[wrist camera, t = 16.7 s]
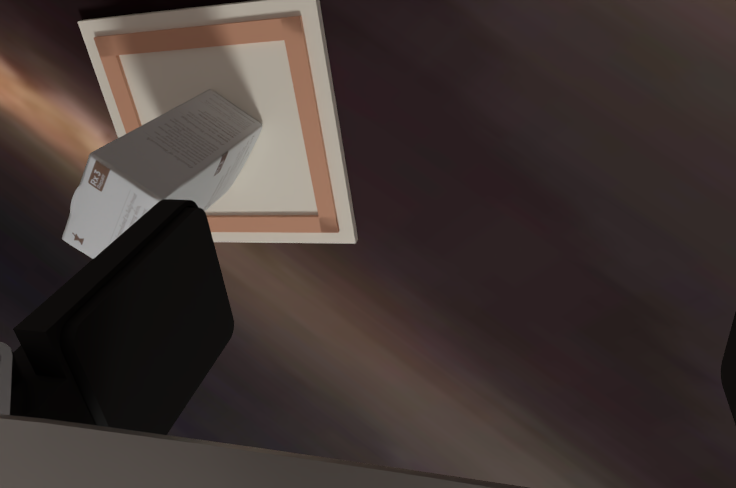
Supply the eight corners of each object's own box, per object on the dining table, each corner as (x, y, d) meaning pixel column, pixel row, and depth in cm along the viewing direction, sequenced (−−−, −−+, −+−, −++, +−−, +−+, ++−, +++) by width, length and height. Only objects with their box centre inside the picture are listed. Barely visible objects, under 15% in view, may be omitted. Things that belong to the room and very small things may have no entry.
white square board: (83, 19, 39) (74, 22, 38) (318, -7, 34) (313, -5, 33) (158, 237, 46) (152, 243, 46) (358, 239, 42) (354, 245, 41)
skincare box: (232, 190, 42) (132, 289, 32) (176, 154, 41) (57, 243, 31) (267, 120, 38) (168, 206, 28) (207, 80, 38) (84, 153, 28)
